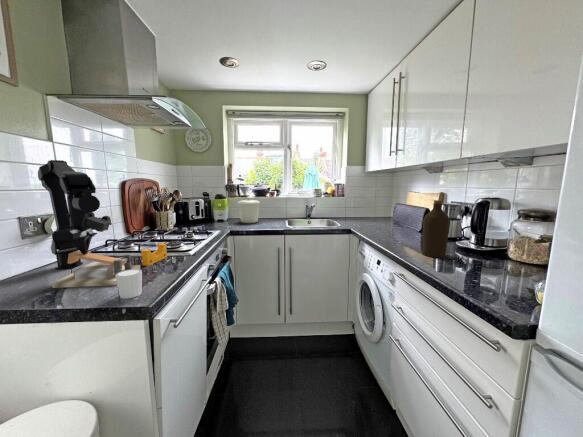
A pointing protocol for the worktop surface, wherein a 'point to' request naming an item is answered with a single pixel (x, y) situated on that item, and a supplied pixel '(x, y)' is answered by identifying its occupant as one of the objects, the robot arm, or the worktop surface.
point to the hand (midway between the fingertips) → (84, 254)
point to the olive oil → (435, 232)
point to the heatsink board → (87, 281)
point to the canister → (248, 210)
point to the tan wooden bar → (93, 258)
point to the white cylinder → (129, 283)
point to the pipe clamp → (154, 255)
